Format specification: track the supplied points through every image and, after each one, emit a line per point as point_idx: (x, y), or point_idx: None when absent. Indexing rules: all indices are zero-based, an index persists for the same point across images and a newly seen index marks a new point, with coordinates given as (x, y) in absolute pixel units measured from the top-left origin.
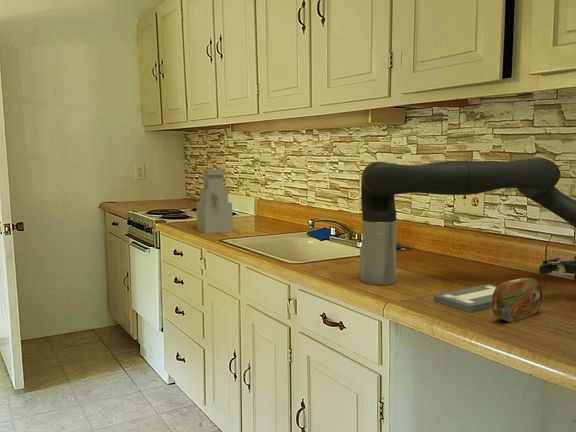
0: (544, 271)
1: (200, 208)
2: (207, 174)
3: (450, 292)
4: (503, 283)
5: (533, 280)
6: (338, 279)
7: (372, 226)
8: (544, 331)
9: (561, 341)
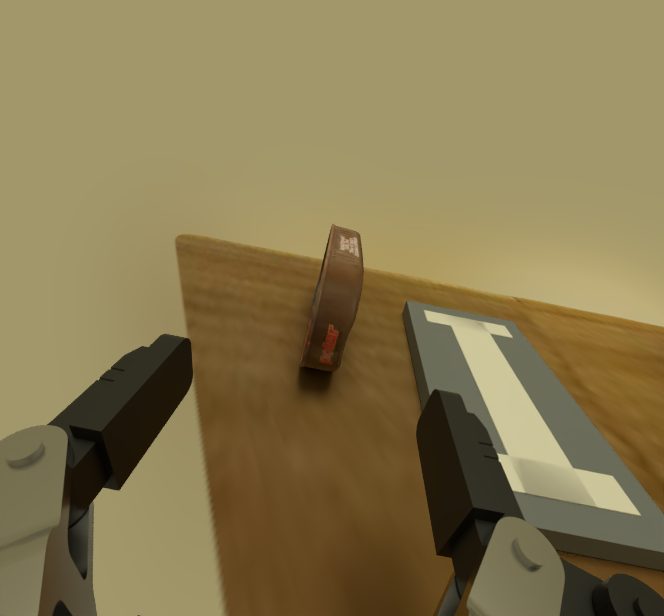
0: (424, 434)
1: None
2: None
3: (534, 353)
4: (350, 230)
5: (328, 274)
6: None
7: None
8: (237, 294)
9: (197, 273)
